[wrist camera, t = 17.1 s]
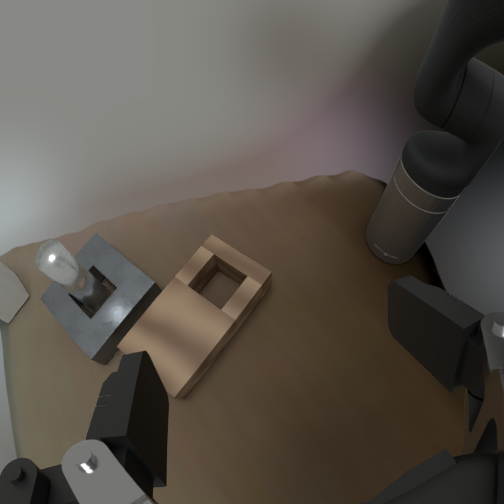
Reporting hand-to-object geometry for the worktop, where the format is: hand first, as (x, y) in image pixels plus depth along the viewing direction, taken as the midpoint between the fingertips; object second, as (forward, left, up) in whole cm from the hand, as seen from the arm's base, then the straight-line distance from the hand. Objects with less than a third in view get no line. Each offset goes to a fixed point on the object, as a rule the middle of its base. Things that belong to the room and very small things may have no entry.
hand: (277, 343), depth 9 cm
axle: (+4, -27, -32) cm, 42 cm away
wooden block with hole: (-3, -13, -32) cm, 35 cm away
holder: (+4, -27, -32) cm, 42 cm away
